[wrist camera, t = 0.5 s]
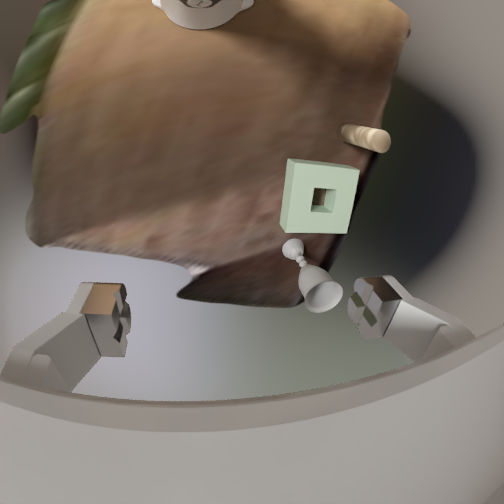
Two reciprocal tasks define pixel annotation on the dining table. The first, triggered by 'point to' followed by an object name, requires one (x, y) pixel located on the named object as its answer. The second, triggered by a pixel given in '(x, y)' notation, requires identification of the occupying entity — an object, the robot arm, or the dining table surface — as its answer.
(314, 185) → the socket block
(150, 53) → the dining table surface
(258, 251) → the dining table surface
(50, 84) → the dining table surface
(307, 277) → the chalice
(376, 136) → the peg
